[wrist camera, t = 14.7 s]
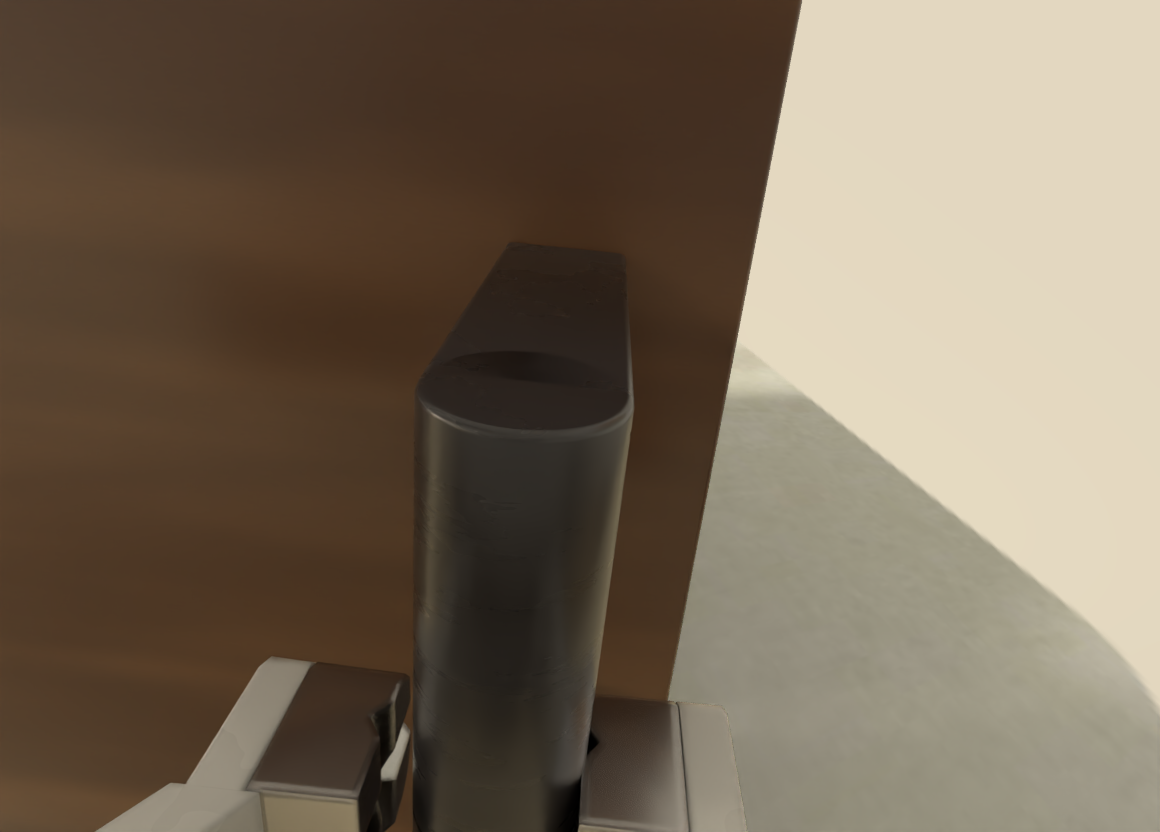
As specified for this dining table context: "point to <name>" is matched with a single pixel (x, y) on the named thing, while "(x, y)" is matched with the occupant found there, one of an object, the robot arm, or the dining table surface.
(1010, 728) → the dining table surface
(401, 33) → the door
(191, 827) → the robot arm
